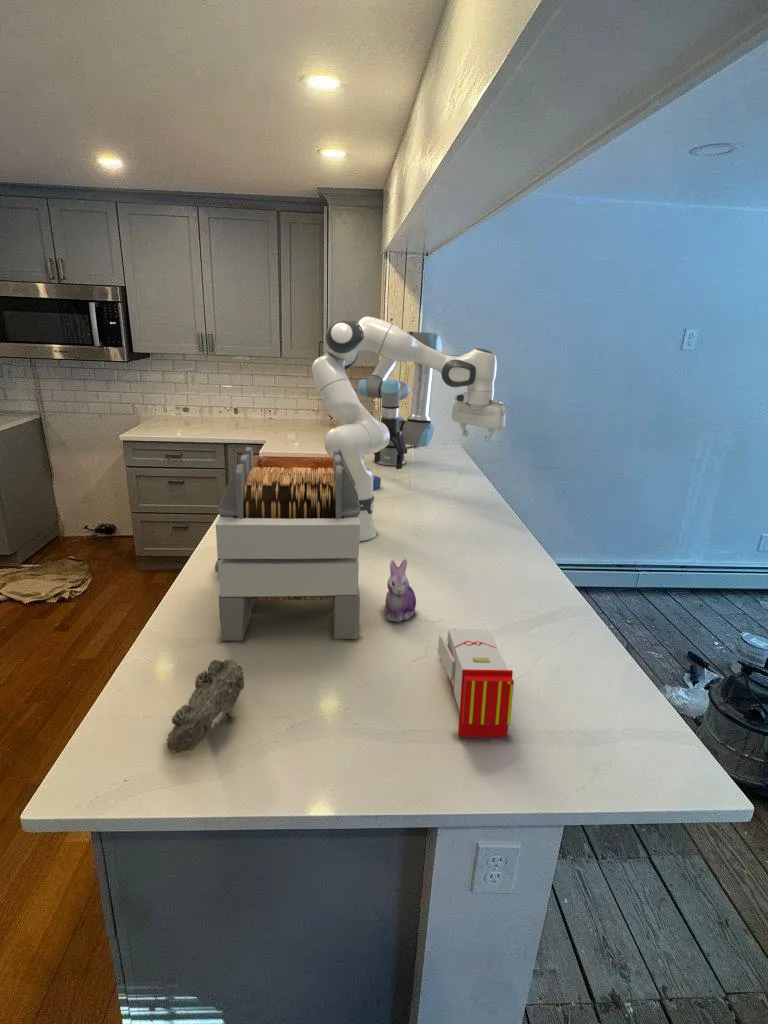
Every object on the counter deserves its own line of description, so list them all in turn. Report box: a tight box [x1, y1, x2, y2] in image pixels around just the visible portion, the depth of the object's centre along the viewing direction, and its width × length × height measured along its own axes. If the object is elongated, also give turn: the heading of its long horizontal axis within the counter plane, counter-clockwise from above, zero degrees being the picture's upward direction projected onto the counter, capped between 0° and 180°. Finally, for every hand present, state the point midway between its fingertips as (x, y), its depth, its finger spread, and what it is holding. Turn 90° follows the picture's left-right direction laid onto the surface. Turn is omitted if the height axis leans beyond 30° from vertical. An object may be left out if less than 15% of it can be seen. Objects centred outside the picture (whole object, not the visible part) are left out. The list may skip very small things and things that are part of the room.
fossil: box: [166, 658, 245, 754], centre depth 106 cm, size 22×10×15 cm
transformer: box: [215, 446, 361, 642], centre depth 142 cm, size 34×33×41 cm
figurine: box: [384, 558, 417, 623], centre depth 145 cm, size 9×10×15 cm
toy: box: [437, 628, 515, 738], centre depth 117 cm, size 12×13×30 cm
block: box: [373, 474, 382, 491], centre depth 248 cm, size 5×5×5 cm
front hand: (475, 438), depth 197 cm, fingers open, 8 cm apart
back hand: (387, 465), depth 249 cm, fingers open, 13 cm apart
